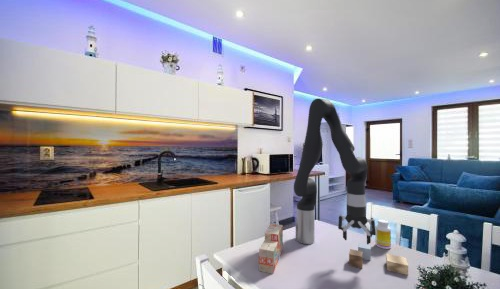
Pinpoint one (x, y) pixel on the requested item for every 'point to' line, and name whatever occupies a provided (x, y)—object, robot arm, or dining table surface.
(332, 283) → the dining table surface
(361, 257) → the walnut cube
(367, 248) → the slate cube
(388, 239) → the supplement bottle
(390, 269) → the oak base
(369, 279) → the dining table surface
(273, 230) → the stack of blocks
